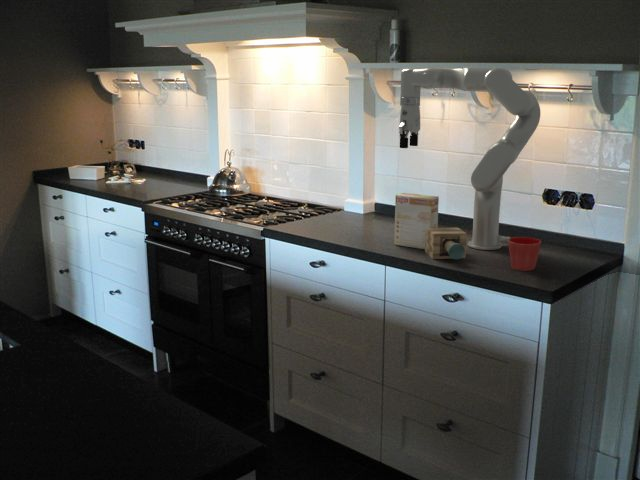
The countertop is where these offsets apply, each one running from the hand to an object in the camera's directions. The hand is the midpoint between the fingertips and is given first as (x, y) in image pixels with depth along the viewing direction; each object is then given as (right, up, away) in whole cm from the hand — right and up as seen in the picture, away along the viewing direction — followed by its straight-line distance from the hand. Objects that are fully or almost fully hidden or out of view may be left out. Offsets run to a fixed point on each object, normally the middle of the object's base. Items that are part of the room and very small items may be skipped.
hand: (408, 147), depth 275 cm
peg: (+12, -41, -25) cm, 50 cm away
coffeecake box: (+2, -38, -3) cm, 39 cm away
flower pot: (+34, -46, -34) cm, 66 cm away
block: (+11, -41, -17) cm, 46 cm away
